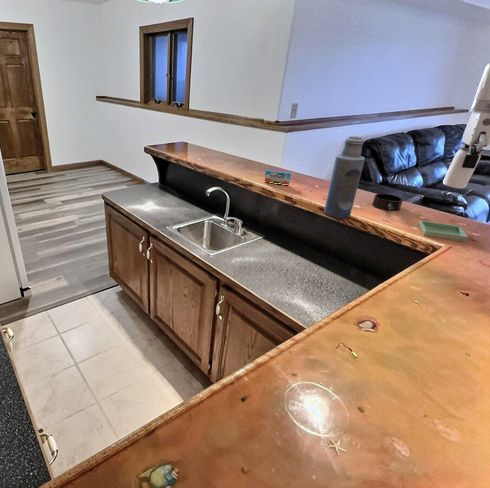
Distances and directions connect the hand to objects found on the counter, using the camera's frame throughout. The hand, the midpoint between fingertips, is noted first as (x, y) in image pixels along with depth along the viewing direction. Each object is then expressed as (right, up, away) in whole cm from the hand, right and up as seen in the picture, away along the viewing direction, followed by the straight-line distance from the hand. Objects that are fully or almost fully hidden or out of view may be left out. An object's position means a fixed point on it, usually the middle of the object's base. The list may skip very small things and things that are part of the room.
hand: (464, 165), depth 114 cm
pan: (-6, -12, +30) cm, 33 cm away
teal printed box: (-42, +4, +62) cm, 75 cm away
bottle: (-29, -14, +25) cm, 41 cm away
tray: (0, -22, +10) cm, 24 cm away
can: (-1, -6, +4) cm, 7 cm away
